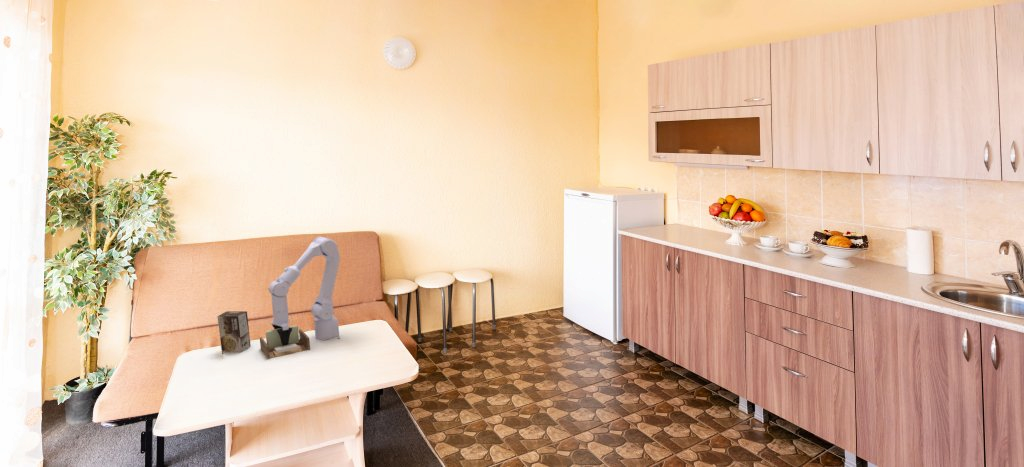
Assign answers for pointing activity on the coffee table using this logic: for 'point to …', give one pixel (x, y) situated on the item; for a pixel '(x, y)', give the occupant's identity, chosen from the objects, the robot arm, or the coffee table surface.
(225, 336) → the coffee box
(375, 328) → the coffee table surface
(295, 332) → the pale green long block
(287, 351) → the offcut lower
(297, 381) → the coffee table surface
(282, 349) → the offcut upper
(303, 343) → the rack
